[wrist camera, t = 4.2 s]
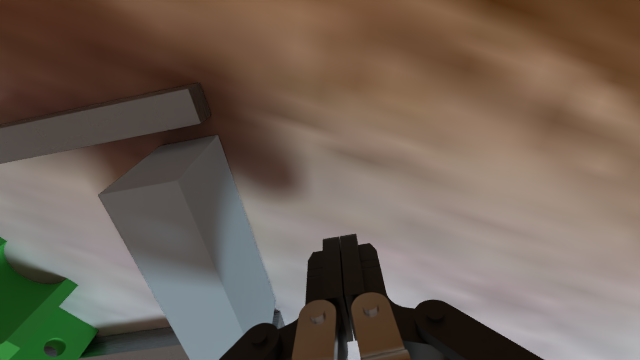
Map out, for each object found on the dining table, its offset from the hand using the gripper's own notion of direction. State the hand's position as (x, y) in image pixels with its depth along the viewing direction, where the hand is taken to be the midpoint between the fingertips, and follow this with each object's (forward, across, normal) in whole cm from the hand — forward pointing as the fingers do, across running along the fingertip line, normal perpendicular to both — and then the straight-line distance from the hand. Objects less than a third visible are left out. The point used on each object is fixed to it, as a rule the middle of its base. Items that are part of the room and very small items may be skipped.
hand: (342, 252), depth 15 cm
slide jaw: (+3, +6, 0) cm, 7 cm away
